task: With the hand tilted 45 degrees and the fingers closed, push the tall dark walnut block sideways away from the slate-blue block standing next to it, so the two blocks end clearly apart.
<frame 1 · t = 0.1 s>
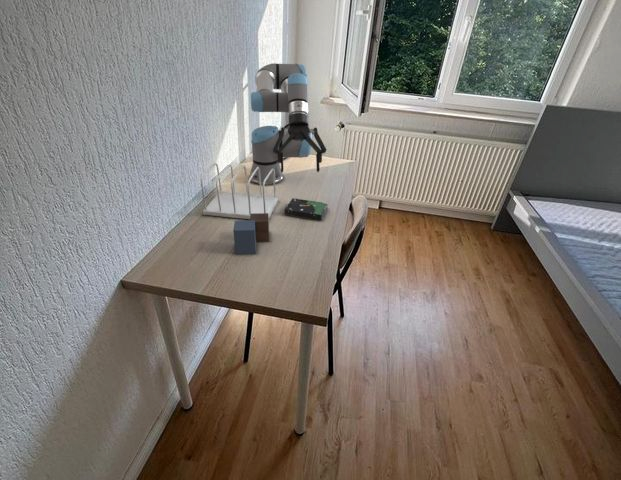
hand: (300, 171, 131), 15 cm above the table, tool tilted 35°, fingers open, 13 cm apart
file sorter: (242, 208, 138), on the table
walnut block: (260, 237, 120), on the table
slate-blue block: (246, 248, 114), on the table
disk drive: (306, 212, 137), on the table
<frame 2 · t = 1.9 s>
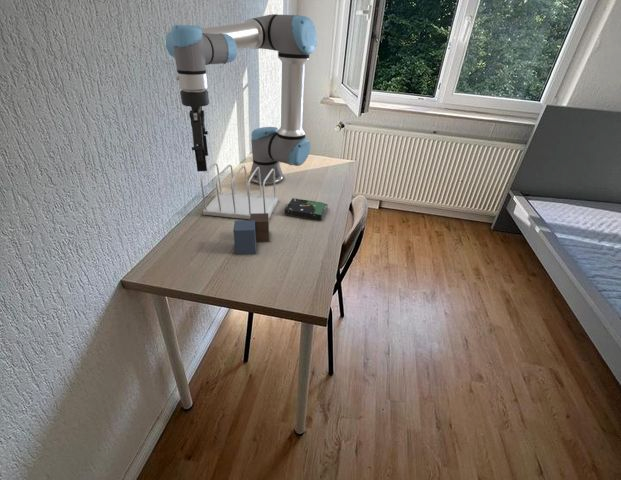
hand: (203, 162, 108), 25 cm above the table, tool pointing down, fingers open, 13 cm apart
nothing on the table moved.
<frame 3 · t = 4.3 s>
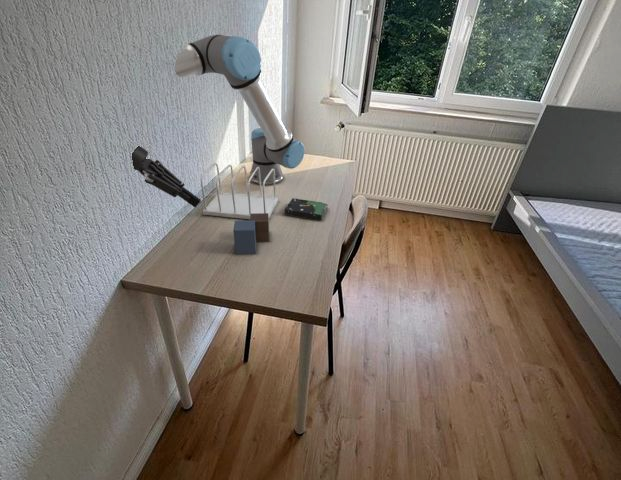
hand: (197, 203, 110), 14 cm above the table, tool tilted 45°, fingers closed
nothing on the table moved.
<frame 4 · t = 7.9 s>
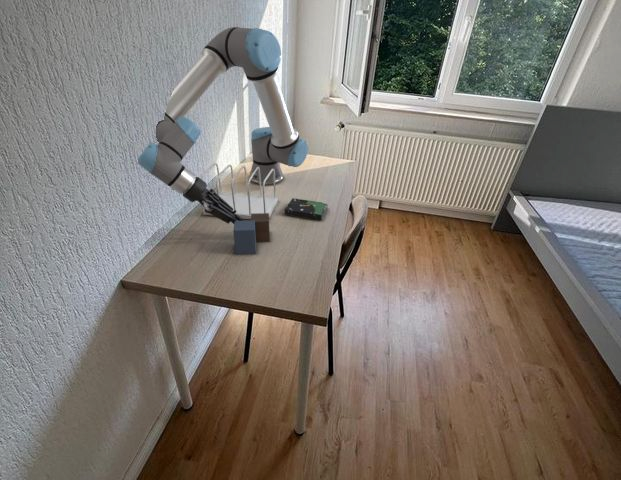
hand: (247, 228, 118), 4 cm above the table, tool tilted 45°, fingers closed
walnut block: (260, 237, 120), on the table, touching gripper
everything else where it was.
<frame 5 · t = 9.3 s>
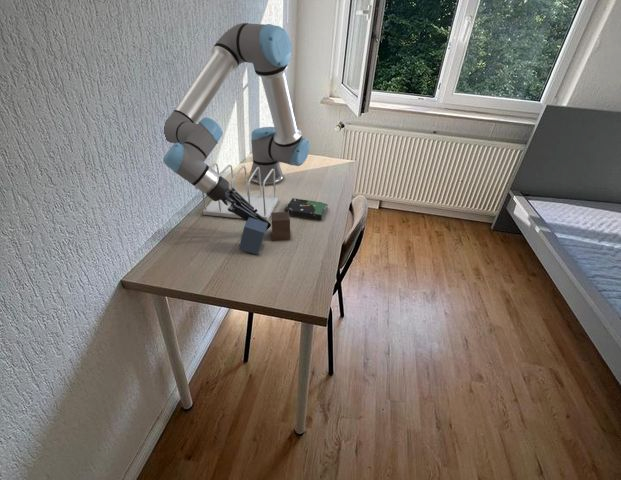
hand: (268, 227, 119), 4 cm above the table, tool tilted 45°, fingers closed
walnut block: (280, 236, 121), on the table, touching gripper
slate-blue block: (250, 246, 114), point 1 cm above the table, tilted 16°, touching hand
everything else where it was.
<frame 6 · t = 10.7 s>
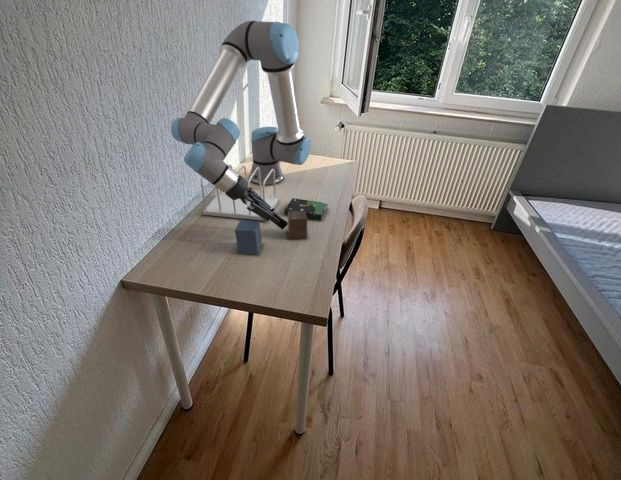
hand: (284, 226, 120), 4 cm above the table, tool tilted 45°, fingers closed
walnut block: (297, 234, 122), on the table, touching gripper
slate-blue block: (250, 248, 114), on the table
everything else where it was.
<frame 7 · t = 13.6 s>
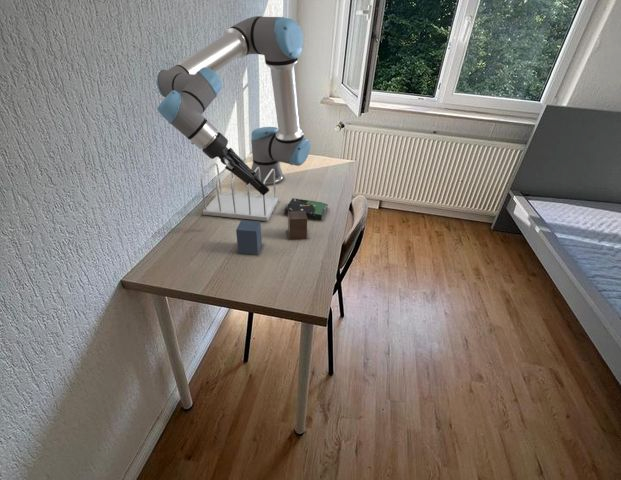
hand: (266, 192, 113), 16 cm above the table, tool tilted 40°, fingers closed
walnut block: (297, 234, 122), on the table
everything else where it was.
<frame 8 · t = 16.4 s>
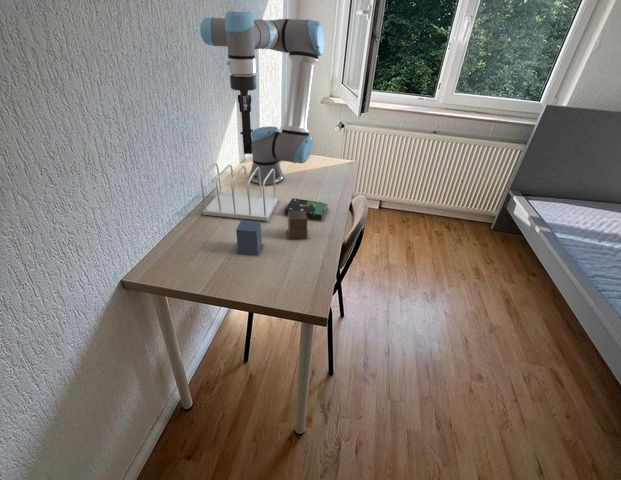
hand: (248, 153, 114), 26 cm above the table, tool pointing down, fingers closed
nothing on the table moved.
at the end: walnut block inside the target area on the table beside the slate-blue block (1.0 cm from its centre), on the table; slate-blue block moved 1.4 cm from its start; walnut block tilted 0° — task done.
